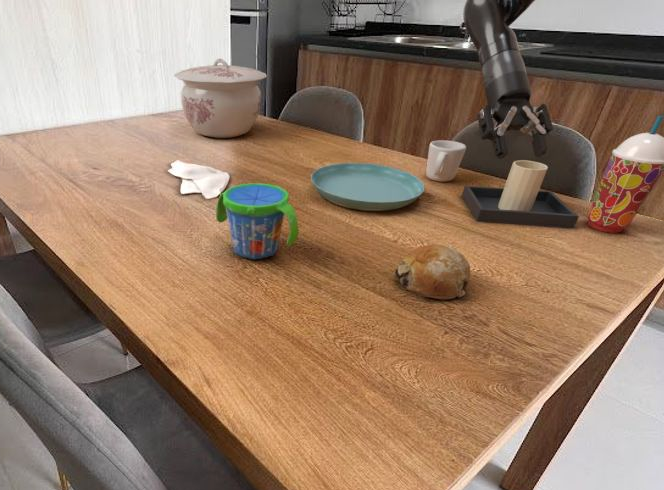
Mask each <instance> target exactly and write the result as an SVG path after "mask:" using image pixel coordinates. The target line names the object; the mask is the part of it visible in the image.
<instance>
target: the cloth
mask: <svg viewBox="0 0 664 490" xmlns="http://www.w3.org/2000/svg"><path fill="white" fill-rule="evenodd" d="M170 166H171V168H169V169H167V173H169V174H171V175H172V176H174V177H176V178H180V179H181V181H182V182H181V184H180V195H189V194H202V196H203V197H204V198H205V199H206V200H211V199H216V198H217V197H219V196H220V195H221V194H222V193H223V192H224V190H225V189H226V187H227V186H228V184H229V181H230V174H229V173H228V172H227V171H222V170H221V169H216V168H213V167H211V166H207V165H201V164H195V163H187V162H184V161H182V160H180V159H176V160H175V161H174V162H172V163H170Z"/></svg>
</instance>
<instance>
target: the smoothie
mask: <svg viewBox="0 0 664 490" xmlns="http://www.w3.org/2000/svg"><path fill="white" fill-rule="evenodd" d="M663 119H664V116H663V115H658V117H657V118H656V121H655V122H654V124H653V126H652V128H651V130H650V132H643V133H637V134H635V135H632V136H630V137H628V138H627V139H625V140H623V141H622V142H621V143H620V144H619V145H618V146H617V147H616V148H614V149H612V153H611V155H610V157H609V160H608V162H607V165H606V167H605V170H604V173H603V175H602V178H601V180H600V183H599V185H598V187H597V190H596V192H595V195H594V198H593V199H592V202H591V204H590V208H589V210H588V212H587V215H586V218H587V223H586V224H587V225H588V226H589V227H590V228H592V229H594V230H596V231H599V232H604V233H609V234H618V233H621V232H623V231H624V229H625V228H628V227H630V225H631V223H632V222H633V220H634V219H635V217H636V216H637V214H638V212H639V211H640V209H641V208H642V206H643V205H644V203H645V201H647V199H648V197H649V195H650V193H651V192H652V190H653V189H654V187H655V186H656V184H657V182H658V181H659V179H660V178H661V176H662V175H663V174H664V136H663V135H660V134H659V133H656V132H657V130H658V128H659V127H660V125H661V123H662V120H663Z"/></svg>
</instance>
